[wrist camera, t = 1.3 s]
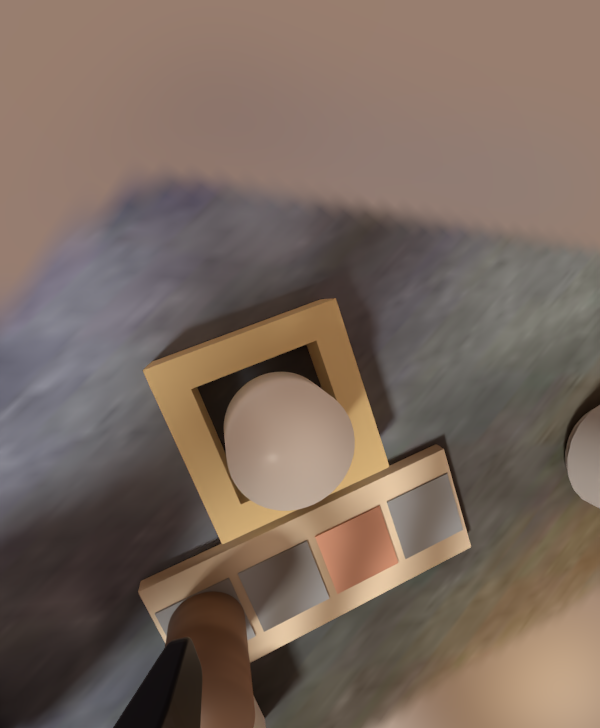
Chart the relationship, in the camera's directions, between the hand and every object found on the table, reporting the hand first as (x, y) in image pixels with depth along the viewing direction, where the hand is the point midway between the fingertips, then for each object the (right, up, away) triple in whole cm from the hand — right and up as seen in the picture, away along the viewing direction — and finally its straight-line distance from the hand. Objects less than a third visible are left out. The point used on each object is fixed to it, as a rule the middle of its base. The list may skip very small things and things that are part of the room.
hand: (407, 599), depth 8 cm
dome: (-3, +2, +9) cm, 10 cm away
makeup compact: (-1, -6, +14) cm, 16 cm away
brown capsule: (-7, -9, +12) cm, 17 cm away
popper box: (-4, +2, +12) cm, 13 cm away
